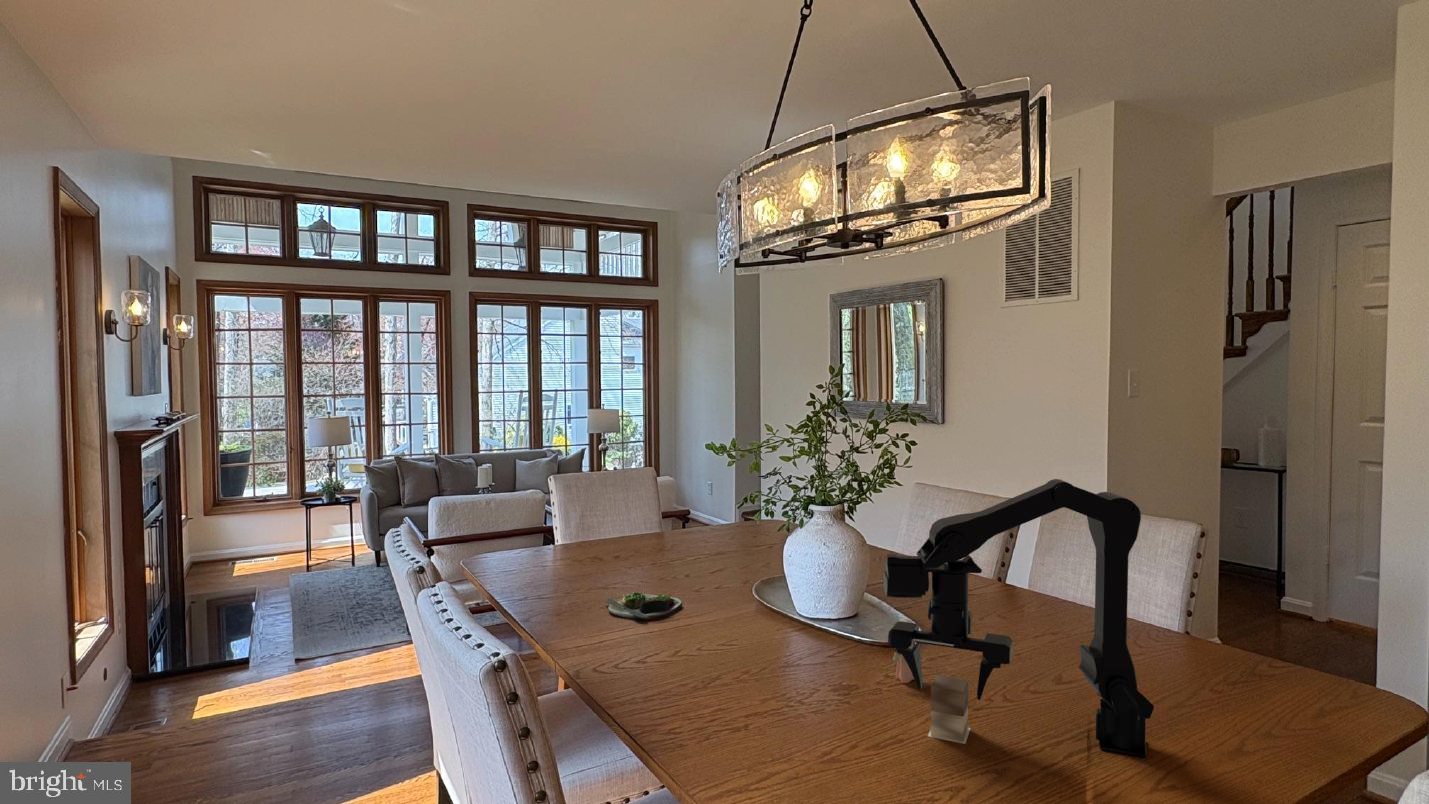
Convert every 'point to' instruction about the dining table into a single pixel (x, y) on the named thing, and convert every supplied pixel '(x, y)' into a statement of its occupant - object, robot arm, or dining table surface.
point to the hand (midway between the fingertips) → (949, 693)
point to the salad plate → (644, 606)
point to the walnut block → (949, 695)
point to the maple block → (949, 725)
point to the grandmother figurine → (903, 664)
